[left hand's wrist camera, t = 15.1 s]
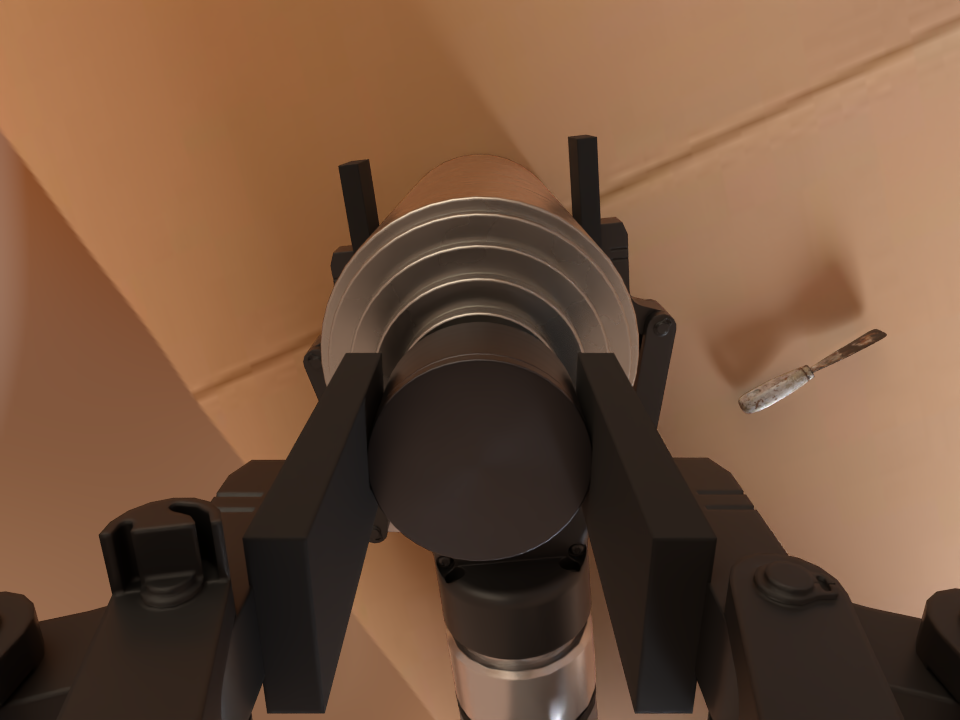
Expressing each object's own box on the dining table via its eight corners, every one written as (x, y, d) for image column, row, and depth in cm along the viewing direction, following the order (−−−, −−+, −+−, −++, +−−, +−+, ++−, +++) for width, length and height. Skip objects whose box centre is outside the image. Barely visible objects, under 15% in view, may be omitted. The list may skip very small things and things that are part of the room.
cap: (565, 306, 14) (580, 341, 11) (587, 484, 15) (604, 545, 13) (363, 338, 14) (342, 379, 12) (404, 510, 15) (391, 575, 13)
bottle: (551, 141, 33) (691, 196, 11) (570, 304, 36) (712, 606, 14) (383, 169, 33) (199, 275, 11) (415, 328, 36) (316, 656, 14)
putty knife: (732, 396, 37) (743, 409, 36) (867, 316, 36) (885, 325, 34) (741, 410, 37) (752, 423, 36) (875, 331, 36) (893, 341, 34)
